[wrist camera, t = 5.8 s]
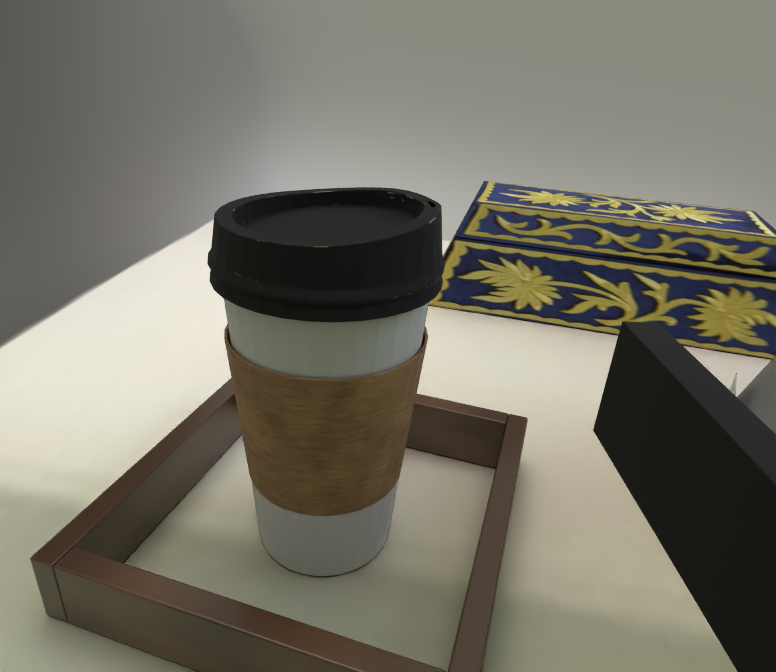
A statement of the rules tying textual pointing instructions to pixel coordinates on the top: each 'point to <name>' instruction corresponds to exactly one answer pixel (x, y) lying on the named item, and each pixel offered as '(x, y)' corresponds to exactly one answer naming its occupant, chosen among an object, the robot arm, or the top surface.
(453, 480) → the top surface
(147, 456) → the wooden square frame
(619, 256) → the decorative box
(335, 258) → the coffee cup
